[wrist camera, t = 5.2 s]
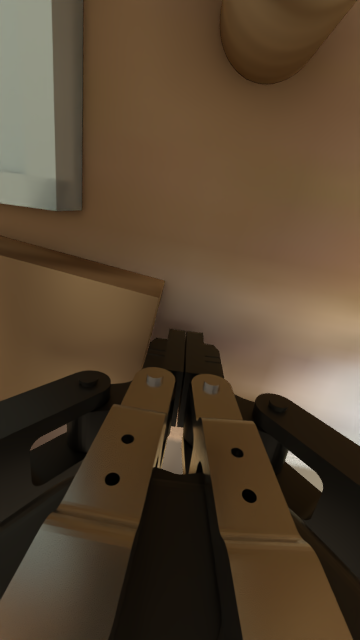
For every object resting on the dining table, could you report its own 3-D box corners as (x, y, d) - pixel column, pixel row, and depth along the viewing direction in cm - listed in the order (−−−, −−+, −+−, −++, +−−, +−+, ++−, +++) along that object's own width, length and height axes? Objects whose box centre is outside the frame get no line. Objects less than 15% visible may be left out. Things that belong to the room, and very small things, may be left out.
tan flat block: (165, 279, 14) (159, 297, 11) (135, 397, 16) (123, 437, 13) (-50, 220, 13) (-115, 223, 10) (-47, 353, 16) (-98, 385, 13)
